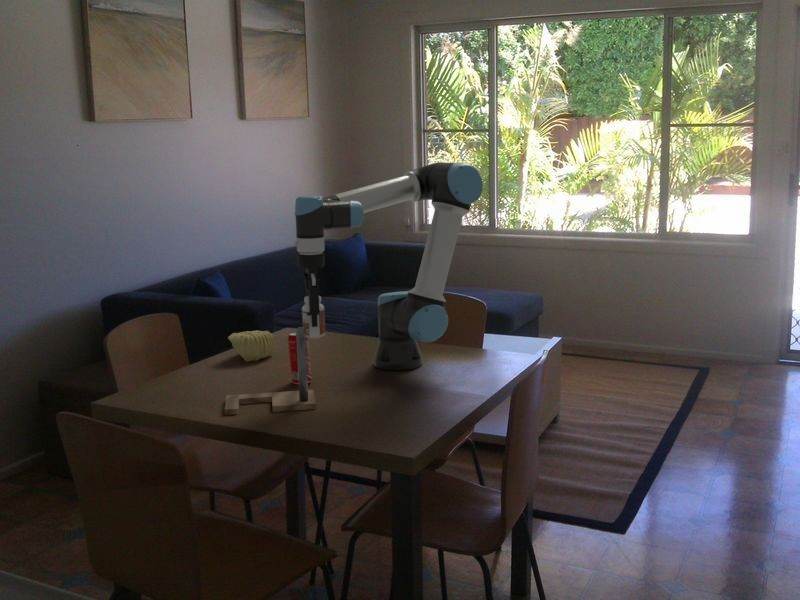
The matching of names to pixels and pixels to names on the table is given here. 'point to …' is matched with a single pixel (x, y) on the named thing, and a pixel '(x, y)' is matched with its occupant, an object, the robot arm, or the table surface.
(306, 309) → the pill bottle
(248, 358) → the seashell
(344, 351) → the table surface
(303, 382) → the hook post
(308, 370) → the beverage can
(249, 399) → the notched tan block
